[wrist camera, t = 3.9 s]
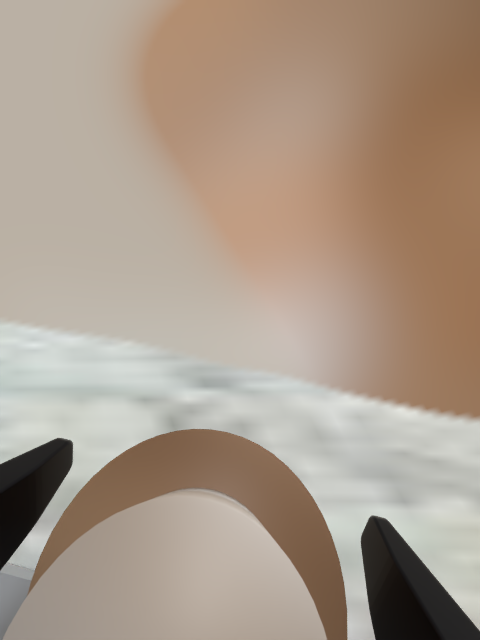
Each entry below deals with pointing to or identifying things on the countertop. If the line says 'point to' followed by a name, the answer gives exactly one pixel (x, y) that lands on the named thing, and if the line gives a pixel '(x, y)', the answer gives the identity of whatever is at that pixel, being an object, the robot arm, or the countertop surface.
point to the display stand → (12, 592)
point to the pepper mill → (188, 551)
